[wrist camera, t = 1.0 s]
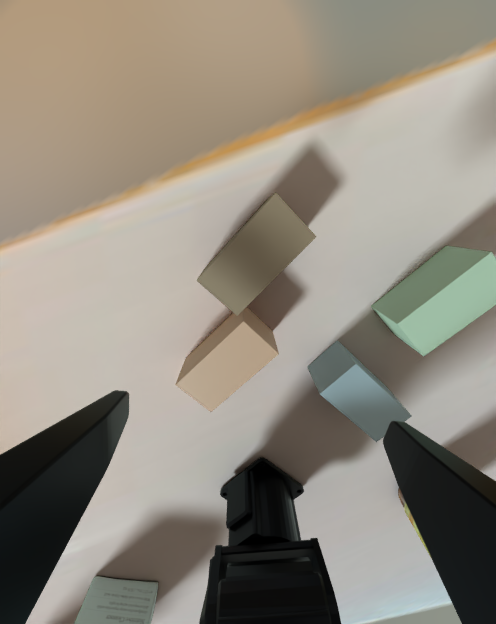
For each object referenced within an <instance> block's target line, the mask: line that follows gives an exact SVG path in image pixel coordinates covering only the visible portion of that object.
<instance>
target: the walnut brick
mask: <svg viewBox="0 0 496 624" xmlns="http://www.w3.org/2000/svg"><path fill="white" fill-rule="evenodd" d="M315 238H316V236H315V235H314V233H313V232H312V231H311V230H310V229H309V228H308V227H307V226H306V225H305V224H304V223H303V221H302V220H301V219H300V218H299V217H298V216H297V215H296V214H295V213H294V212H293V211H292V209H291V208H290V207H289V206H288V205H287V204H286V203H285V202H284V201H283V200H282V199H281V197H280V196H279V195H278V194H277V193H275V194H273V195H272V196H270V197H269V198H268V199H267V200H266V201H265V202H264V203H263V205H262V206H261V207H260V208H259V209H258V210H257V211H256V212H255V213H254V215H253V216H252V217H251V218H250V219H249V220H248V221H247V222H246V223H245V225H244V226H243V227H242V228H241V229H240V230H239V231H238V232H237V233H236V234H235V236H234V237H233V238H232V239H231V240H230V241H229V242H228V243H227V244H226V246H225V247H224V248H223V249H222V250H221V251H220V252H219V253H218V254H217V256H216V257H215V258H214V259H213V260H212V261H211V262H210V263H209V264H208V265H207V267H206V268H205V269H204V270H203V272H202V273H201V275H200V276H199V277H198V279H197V281H198V282H199V283H200V284H201V285H202V286H203V287H205V288H206V289H207V290H208V291H209V292H210V293H211V294H213V295H214V296H215V297H216V298H217V299H218V300H219V301H221V302H222V303H223V304H224V305H225V306H226V307H227V308H229V309H230V310H231V311H232V312H233V313H234V314H235V315H237V316H238V315H239V314H240V313H241V312H242V311H243V310H244V309H245V308H246V307H247V306H248V305H249V304H250V303H251V302H252V301H253V300H254V299H255V298H256V297H257V296H258V295H259V294H260V293H261V292H262V291H263V290H264V289H265V288H266V287H267V286H268V285H269V284H270V283H271V282H272V281H273V280H274V279H275V278H276V277H277V276H278V275H279V274H280V273H281V272H282V271H283V270H284V269H285V268H286V267H287V266H288V265H289V264H290V263H291V262H292V261H293V260H294V259H295V258H296V257H297V256H298V255H299V254H300V253H301V252H302V251H303V250H304V249H305V248H306V247H307V246H308V245H309V244H310V243H311V242H312V241H313V240H314V239H315Z"/></svg>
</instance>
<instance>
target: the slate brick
mask: <svg viewBox="0 0 496 624" xmlns="http://www.w3.org/2000/svg"><path fill="white" fill-rule="evenodd" d="M307 367H308V369H309V372H310V374H311V376H312V378H313V380H314V383H315V385H316V387H317V389H318V391H319V394H320V395H321V396H323V397H324V398H325V399H326V400H327V401H328V402H330V403H331V404H332V405H333V406H334V407H336V408H337V409H338V410H339V411H340V412H341V413H343V414H344V415H345V416H346V417H347V418H349V419H350V420H351V421H352V422H353V423H355V424H356V425H357V426H358V427H359V428H360V429H362V430H363V431H364V432H365V433H366V434H368V435H369V436H370V437H371V438H372V439H373V440H375V441H376V442H377V441H379V440H380V439H381V438H383V437H384V436H385V434H386V431H387V429H388V426H389V424H390V422H391V421H402V422H405V421H406V420H407V419H409V418H410V417H411V415H410V413H409V412H408V411H407V410H406V409H405V408H404V407H403V405H402V404H401V403H400V402H399V401H398V400H397V398H396V397H395V396H394V395H393V394H392V393H391V392H390V390H389V389H388V388H387V387H386V386H385V385H384V384H383V383H382V382H381V381H380V380H379V379H378V378H377V377H376V376H375V375H373V374H372V373H371V372H370V371H369V370H368V369H367V368H366V367H365V366H364V365H363V364H362V363H361V362H360V361H359V360H358V359H357V358H355V357H354V356H353V355H352V354H351V353H350V352H349V351H348V350H347V349H346V348H345V347H344V346H343V345H342V344H341V343H340V342H339V341H338V340H337V341H336V342H335V343H334V344H333V345H331V346H330V347H329V348H328V349H327V350H326V351H325V352H323V353H322V354H321V355H320V356H319V357H318V358H317V359H315V360H314V361H313V362H312V363H311V364H310V365H309V366H307Z"/></svg>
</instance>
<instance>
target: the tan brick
mask: <svg viewBox="0 0 496 624" xmlns="http://www.w3.org/2000/svg"><path fill="white" fill-rule="evenodd" d="M278 354H279V353H278V349H277V345H276V342H275V338H274V335H273V331H272V330H271V329H270V328H268V327H267V326H266V325H265V324H264V323H263V322H262V321H261V320H260V319H259V318H258V317H257V316H256V315H255V314H254V313H253V312H252V311H250V310H249V309H248V308H247V307H246V308H245V309H244V310H243V311H242V312H241V313H240V314H239V315H238V316H237V315H235V314H234V313H232V314H231V315H230V316H229V317H228V318H227V319H226V320H225V321H224V322H223V323H222V324H221V325H220V326H219V327H218V328H217V329H216V330H215V331H214V332H213V333H212V334H211V335H210V336H208V337H207V338H206V339H205V340H204V341H203V342H202V343H201V344H200V345H199V346H198V347H197V348H196V349H195V350H194V351H193V352H192V353H191V354H190V355H189V356H188V357H187V358H186V359H185V362H184V364H183V367H182V369H181V372H180V374H179V377H178V380H177V382H176V386H177V387H179V388H180V389H181V390H183V391H184V392H185V393H187V394H188V395H189V396H190V397H192V398H193V399H194V400H196V401H197V402H198V403H200V404H201V405H202V406H204V407H205V408H206V409H208V410H209V411H210V412H212V411H213V410H214V409H215V408H217V407H218V406H219V405H220V404H221V403H222V402H224V401H225V400H226V399H227V398H228V397H229V396H230V395H232V394H233V393H234V392H235V391H236V390H237V389H239V388H240V387H241V386H242V385H243V384H244V383H246V382H247V381H248V380H249V379H250V378H251V377H253V376H254V375H255V374H256V373H257V372H258V371H260V370H261V369H262V368H263V367H264V366H265V365H266V364H268V363H269V362H270V361H271V360H272V359H273V358H275V357H276V356H277V355H278Z"/></svg>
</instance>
